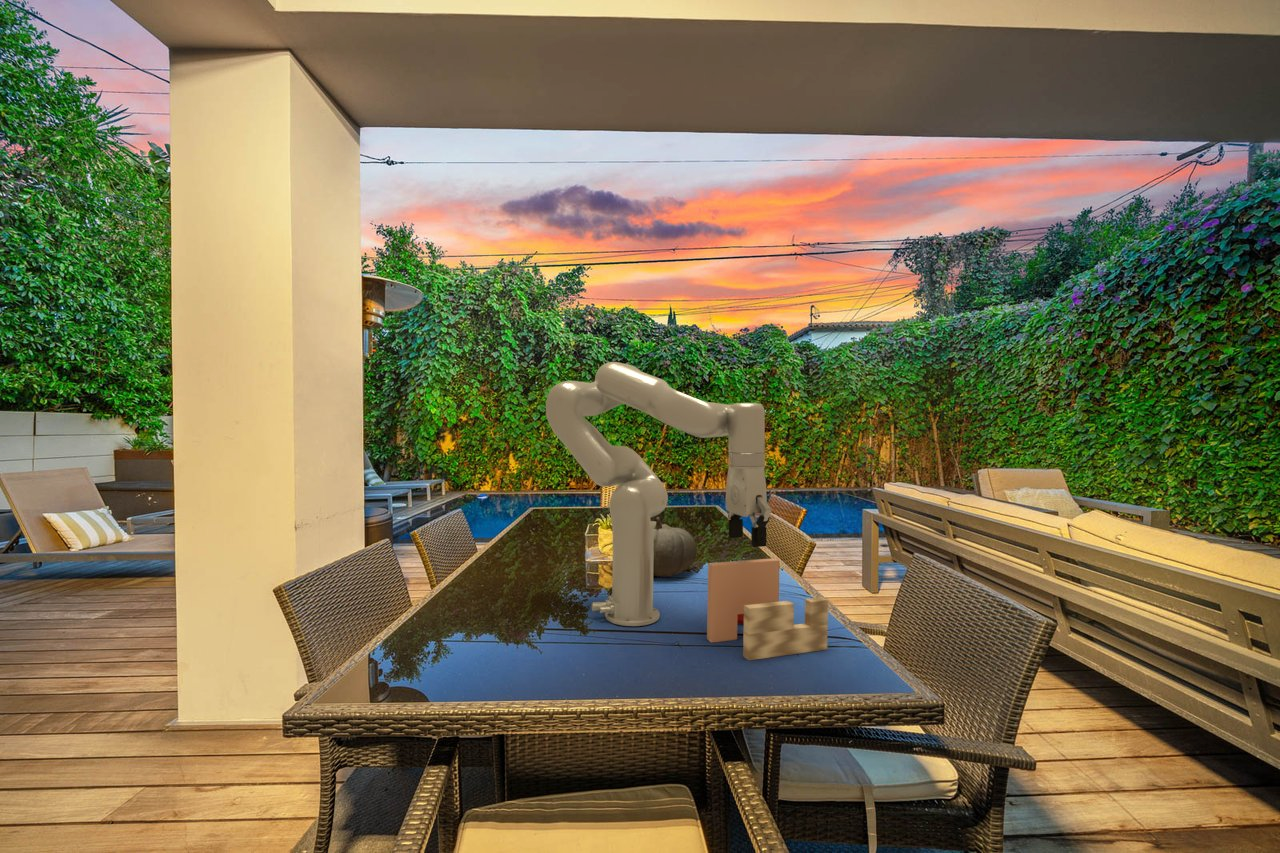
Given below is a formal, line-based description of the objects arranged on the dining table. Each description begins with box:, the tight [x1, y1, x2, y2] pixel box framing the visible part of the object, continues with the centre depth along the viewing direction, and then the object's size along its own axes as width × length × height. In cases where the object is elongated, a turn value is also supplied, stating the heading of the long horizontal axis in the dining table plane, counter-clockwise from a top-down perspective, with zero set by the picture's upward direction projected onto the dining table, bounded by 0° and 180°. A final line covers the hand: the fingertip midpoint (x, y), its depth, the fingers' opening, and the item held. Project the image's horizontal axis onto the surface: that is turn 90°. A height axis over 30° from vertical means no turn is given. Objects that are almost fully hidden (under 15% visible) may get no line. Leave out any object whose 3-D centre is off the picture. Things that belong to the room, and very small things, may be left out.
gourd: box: [651, 516, 698, 578], centre depth 173 cm, size 25×25×17 cm
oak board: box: [742, 596, 829, 661], centre depth 113 cm, size 18×2×10 cm, turn 109°
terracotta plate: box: [706, 557, 780, 643], centre depth 122 cm, size 2×16×16 cm, turn 109°
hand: (746, 541), depth 121 cm, fingers open, 9 cm apart
